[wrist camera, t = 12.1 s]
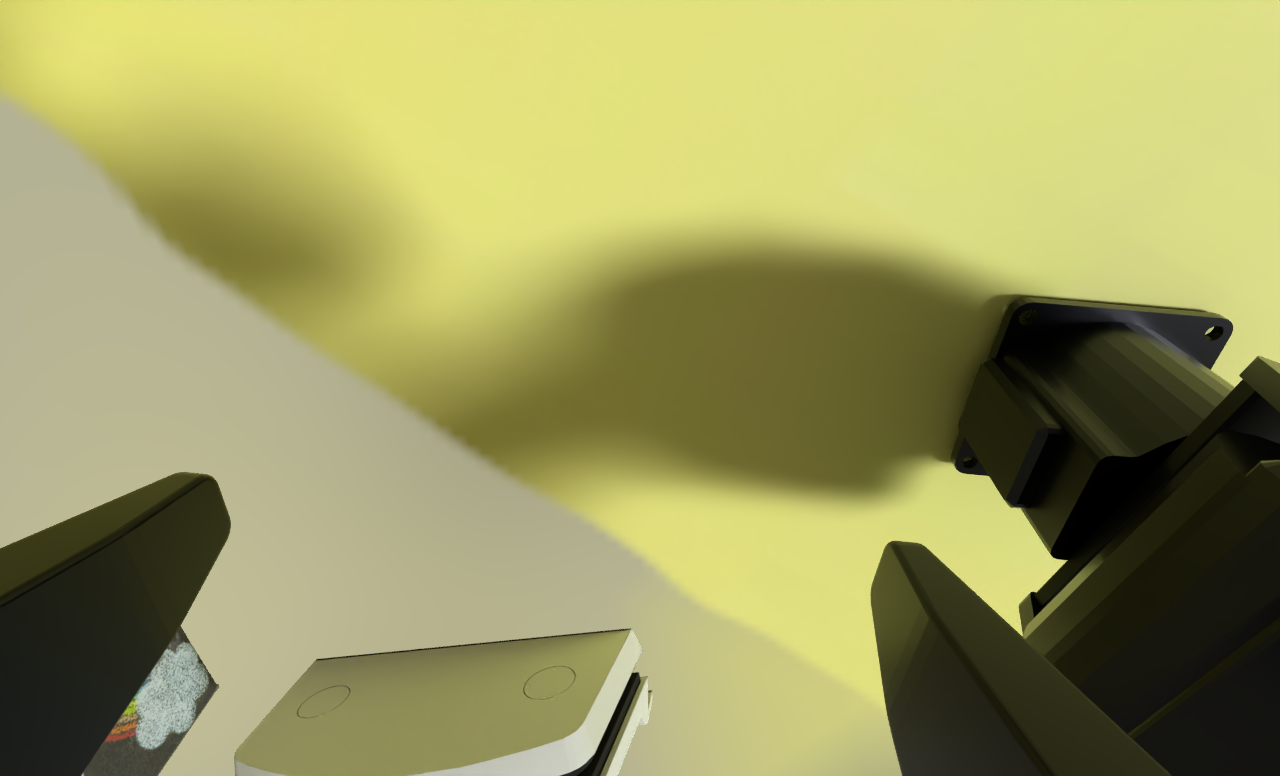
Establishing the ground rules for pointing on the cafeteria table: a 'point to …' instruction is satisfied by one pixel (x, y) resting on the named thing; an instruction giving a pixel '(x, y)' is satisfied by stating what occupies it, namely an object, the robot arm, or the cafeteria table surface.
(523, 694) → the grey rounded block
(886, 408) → the cafeteria table surface
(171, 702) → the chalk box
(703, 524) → the cafeteria table surface
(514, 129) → the cafeteria table surface
